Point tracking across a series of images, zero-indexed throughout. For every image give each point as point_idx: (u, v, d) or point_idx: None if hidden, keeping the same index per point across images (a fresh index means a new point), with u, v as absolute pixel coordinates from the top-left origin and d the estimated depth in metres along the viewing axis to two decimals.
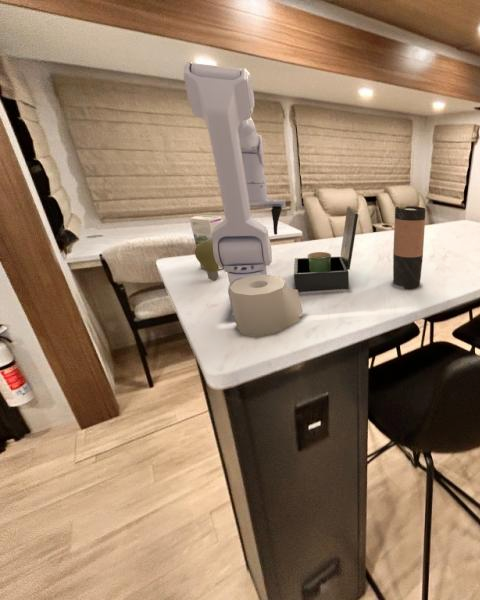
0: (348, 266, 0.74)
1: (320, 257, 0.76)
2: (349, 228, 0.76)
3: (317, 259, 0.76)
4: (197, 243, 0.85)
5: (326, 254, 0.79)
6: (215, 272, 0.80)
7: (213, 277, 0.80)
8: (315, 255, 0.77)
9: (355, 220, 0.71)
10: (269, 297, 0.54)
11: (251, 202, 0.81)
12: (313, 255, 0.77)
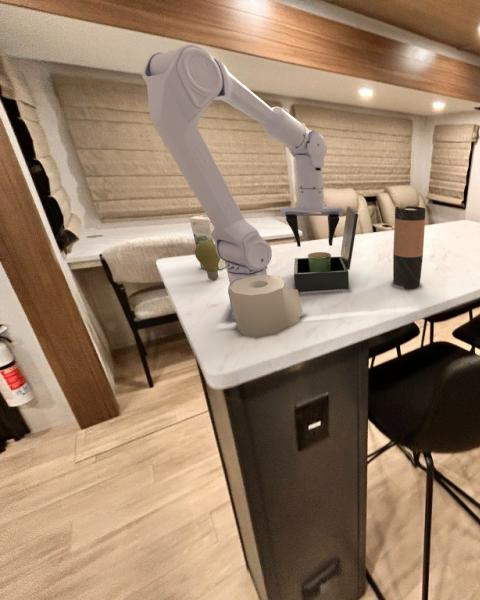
0: (348, 266, 0.74)
1: (320, 257, 0.76)
2: (349, 228, 0.76)
3: (317, 259, 0.76)
4: (197, 243, 0.85)
5: (326, 254, 0.79)
6: (215, 272, 0.80)
7: (213, 277, 0.80)
8: (315, 255, 0.77)
9: (355, 220, 0.71)
10: (269, 297, 0.54)
11: (308, 210, 0.72)
12: (313, 255, 0.77)
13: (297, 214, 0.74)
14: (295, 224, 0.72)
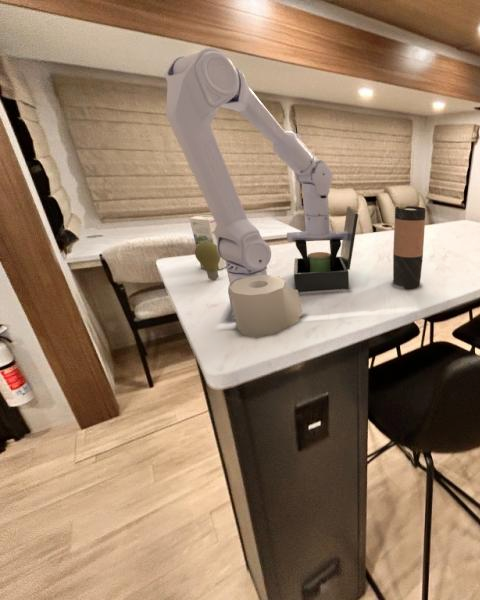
0: (348, 266, 0.74)
1: (320, 257, 0.76)
2: (349, 228, 0.76)
3: (317, 259, 0.76)
4: (197, 243, 0.85)
5: (326, 254, 0.79)
6: (215, 272, 0.80)
7: (213, 277, 0.80)
8: (315, 255, 0.77)
9: (355, 220, 0.71)
10: (269, 297, 0.54)
11: (314, 236, 0.73)
12: (313, 255, 0.77)
13: (306, 239, 0.75)
14: (304, 249, 0.74)
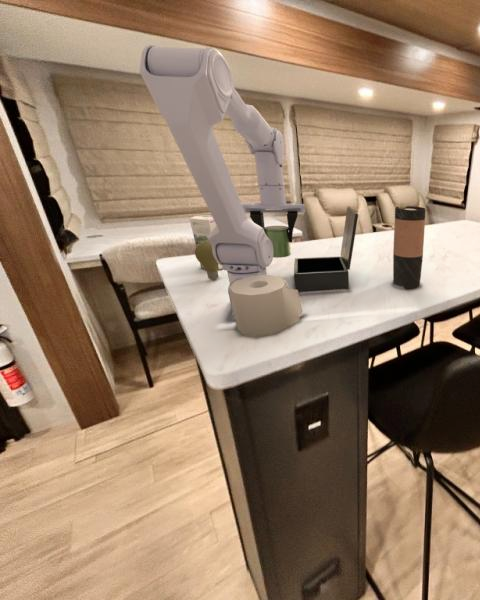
0: (348, 266, 0.74)
1: (276, 229, 0.75)
2: (349, 228, 0.76)
3: (272, 231, 0.75)
4: (197, 243, 0.85)
5: (283, 227, 0.77)
6: (215, 272, 0.80)
7: (213, 277, 0.80)
8: (271, 227, 0.76)
9: (355, 220, 0.71)
10: (269, 297, 0.54)
11: (268, 206, 0.72)
12: (269, 227, 0.76)
13: (262, 211, 0.74)
14: (259, 220, 0.73)
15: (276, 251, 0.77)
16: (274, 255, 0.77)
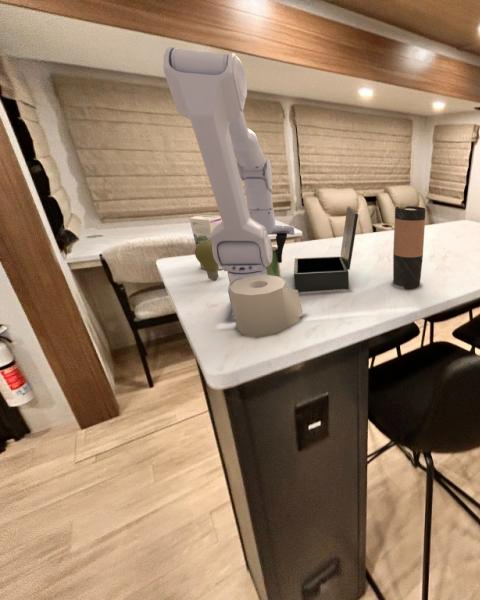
0: (348, 266, 0.74)
1: None
2: (349, 228, 0.76)
3: None
4: (197, 243, 0.85)
5: (273, 248, 0.80)
6: (215, 272, 0.80)
7: (213, 277, 0.80)
8: None
9: (355, 220, 0.71)
10: (269, 297, 0.54)
11: None
12: None
13: None
14: None
15: None
16: None
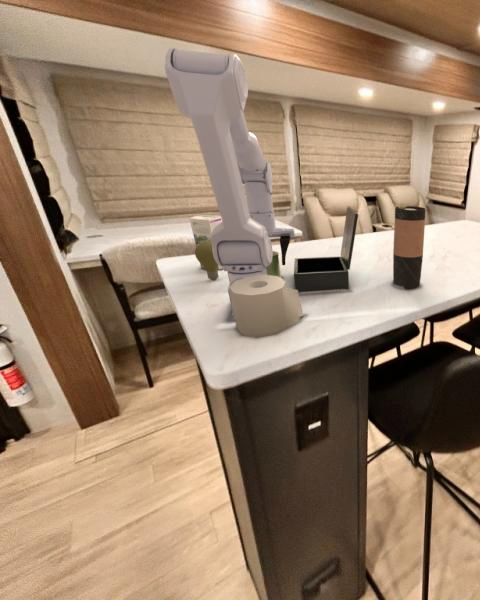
0: (348, 266, 0.74)
1: None
2: (349, 228, 0.76)
3: None
4: (197, 243, 0.85)
5: (274, 253, 0.81)
6: (215, 272, 0.80)
7: (213, 277, 0.80)
8: None
9: (355, 220, 0.71)
10: (269, 297, 0.54)
11: None
12: None
13: None
14: None
15: None
16: None
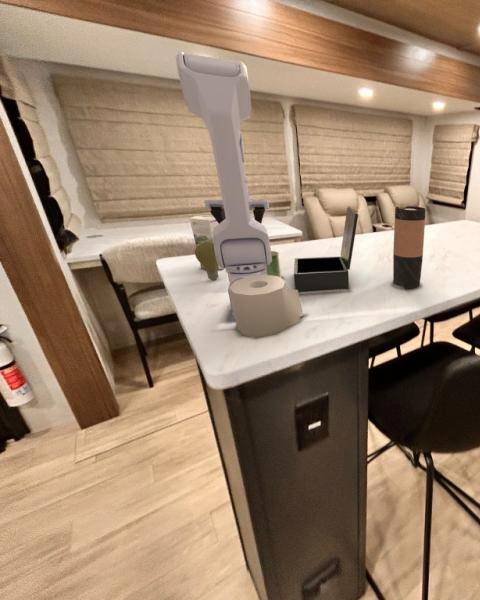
0: (348, 266, 0.74)
1: None
2: (349, 228, 0.76)
3: None
4: (197, 243, 0.85)
5: (274, 253, 0.81)
6: (215, 272, 0.80)
7: (213, 277, 0.80)
8: None
9: (355, 220, 0.71)
10: (269, 297, 0.54)
11: None
12: None
13: (222, 206, 0.78)
14: (219, 216, 0.77)
15: None
16: None
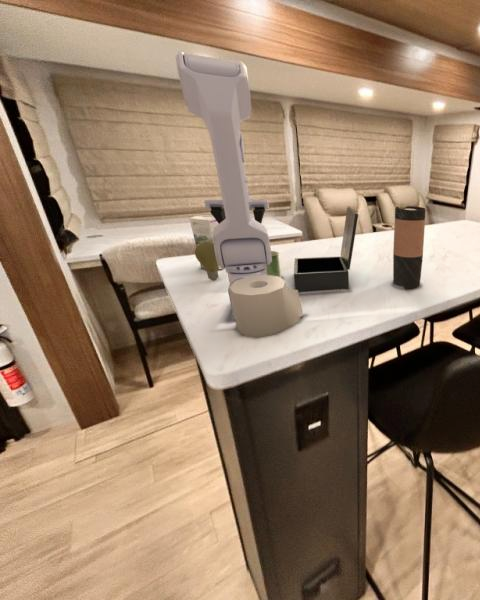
0: (348, 266, 0.74)
1: None
2: (349, 228, 0.76)
3: None
4: (197, 243, 0.85)
5: (274, 253, 0.81)
6: (215, 272, 0.80)
7: (213, 277, 0.80)
8: None
9: (355, 220, 0.71)
10: (269, 297, 0.54)
11: None
12: None
13: (222, 206, 0.78)
14: (219, 216, 0.77)
15: None
16: None
